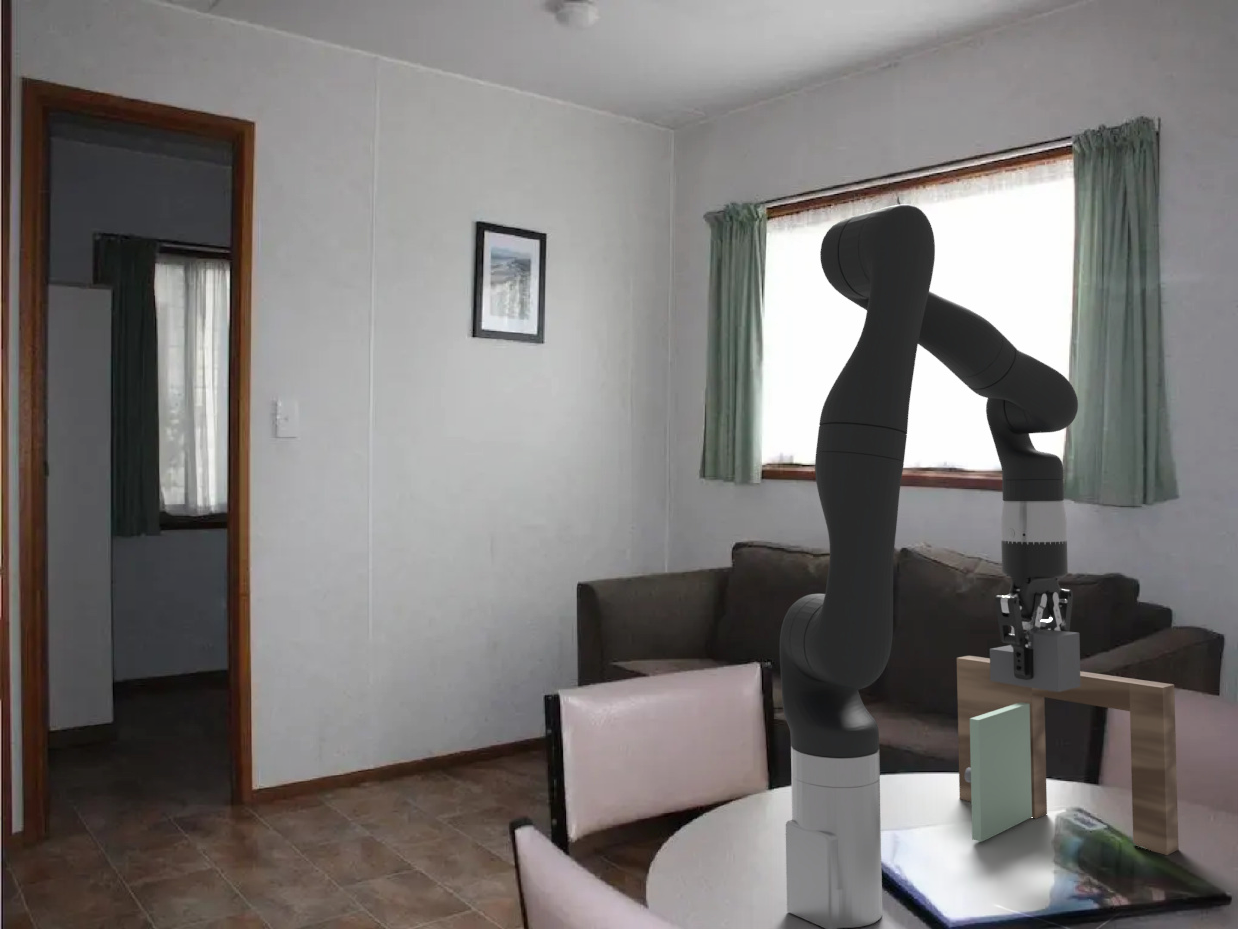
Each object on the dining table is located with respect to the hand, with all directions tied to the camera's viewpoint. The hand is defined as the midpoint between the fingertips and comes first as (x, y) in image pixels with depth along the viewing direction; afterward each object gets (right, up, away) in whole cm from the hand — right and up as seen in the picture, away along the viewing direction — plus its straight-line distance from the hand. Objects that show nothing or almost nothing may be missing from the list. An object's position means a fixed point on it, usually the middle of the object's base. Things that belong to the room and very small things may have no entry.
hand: (1036, 675), depth 124 cm
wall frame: (+7, -21, +9) cm, 24 cm away
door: (-2, -21, +6) cm, 22 cm away
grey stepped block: (0, -1, 0) cm, 1 cm away
